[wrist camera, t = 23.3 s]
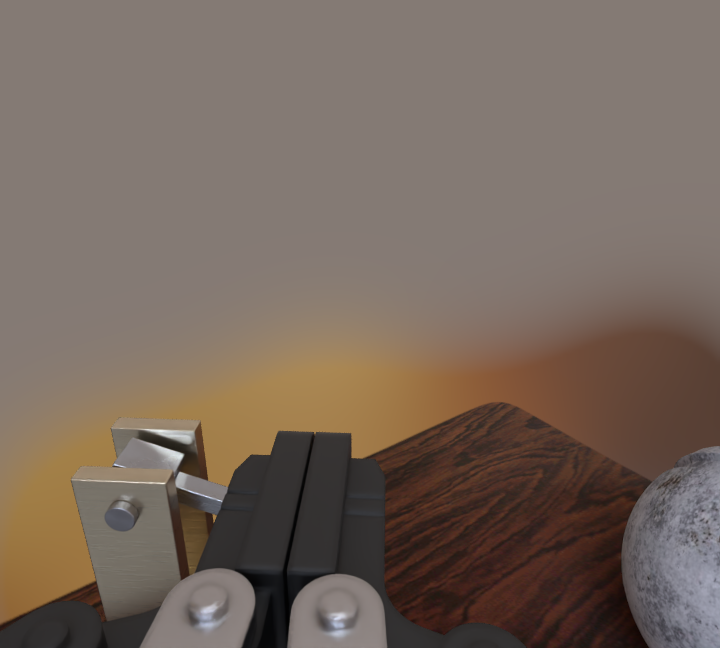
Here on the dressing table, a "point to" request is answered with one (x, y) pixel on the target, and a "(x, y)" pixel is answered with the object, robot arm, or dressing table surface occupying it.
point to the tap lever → (187, 486)
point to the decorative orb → (676, 555)
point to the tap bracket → (142, 518)
